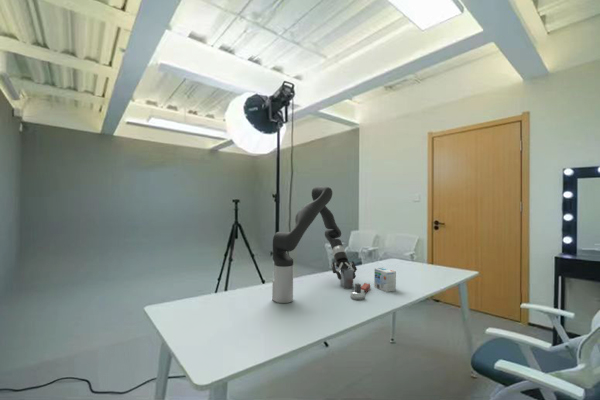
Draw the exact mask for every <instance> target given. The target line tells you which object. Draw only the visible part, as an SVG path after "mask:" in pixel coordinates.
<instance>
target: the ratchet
mask: <svg viewBox="0 0 600 400" xmlns="http://www.w3.org/2000/svg"><path fill="white" fill-rule="evenodd" d="M370 289H371V283H366V282H365V283H364V284H361V283H354V289H352V290H351V291H350V299H351V300H354V301H364V300H366V293H367V292H368V291H369V290H370Z"/></svg>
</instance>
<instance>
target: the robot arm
mask: <svg viewBox="0 0 600 400" xmlns="http://www.w3.org/2000/svg"><path fill="white" fill-rule="evenodd" d="M332 197H333V190H332V188H331V187H329V186H318V185H317V186H314V187H313V188H312V189H311V198H312V201H310V202H308V203H306V204H305V205H303V206H302V207H301V208H300V210H299V211H298V212H297V213H296V214H295V226H294V227H293V228H292V229H291V230H290V231H289V232H288V231H277V232H276V233H274V235H273V237H272V259H273V262H274V268H273V270H274V274H273V276H274V278H273V280H272V293H271V295H272V301H274V302H275V303H278V304H288V303H291V302H293V301H294V258H292V257H291V256H290V255H288V254H287V252H288V253H289V252H293V251H294V250H295V249H296V248H297V246H298V245H299V243H300V241H301V239H302V238H303V235H304V234H305V232H307V230H308V229H309V227H310V226H311V224H312V223H313V222H314V220H315V219H316V218H317V216H318V215H319V214H320V215H321V218H322V221H323V225H324V227H325V229H326V230H325V231H324V237H325V238H326V240H327V241H328V243H329V244H330V248H331V251H332V256H333V258H334V261H335V262H334V261H332V262H331V271H332V273H333V274H336V276H337V279H338V280H339V281H340V280H341V268H350V269H352V270H353V280H355V278H356V276H357V275H356V272H357V270H358V269H357V266H356V263H355V262H354V261H351V262H350V261H349V260H348V259H349V258H348V256H347V253H346V250H345V248H344V245H343V242H342V240H341V239H340V237H342V231H341V228H339V226H338V225H337V223H336V219H335V217H334V215H333V214H334V213H333V212H332V211H331V210H330V209H329V208H328V207H327V204H329V202H331V200H332ZM336 267H337V269H336Z"/></svg>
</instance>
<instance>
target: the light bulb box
mask: <svg viewBox="0 0 600 400" xmlns="http://www.w3.org/2000/svg"><path fill="white" fill-rule="evenodd" d="M373 286H374V288H376V289H377V290H378V289H379V290H381V291H383V292H386V293H388V292H389V293H390V292H396V291H397V270H393V269H390V268H386V267H378V268H374V283H373Z"/></svg>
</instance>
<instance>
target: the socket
mask: <svg viewBox="0 0 600 400" xmlns="http://www.w3.org/2000/svg"><path fill="white" fill-rule="evenodd" d="M340 275H341V280H339V281H340V285H339V286H340V287H341V288H343V289H354V279H353V270H352V269H350V268H349V267H348V268H341V270H340Z"/></svg>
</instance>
